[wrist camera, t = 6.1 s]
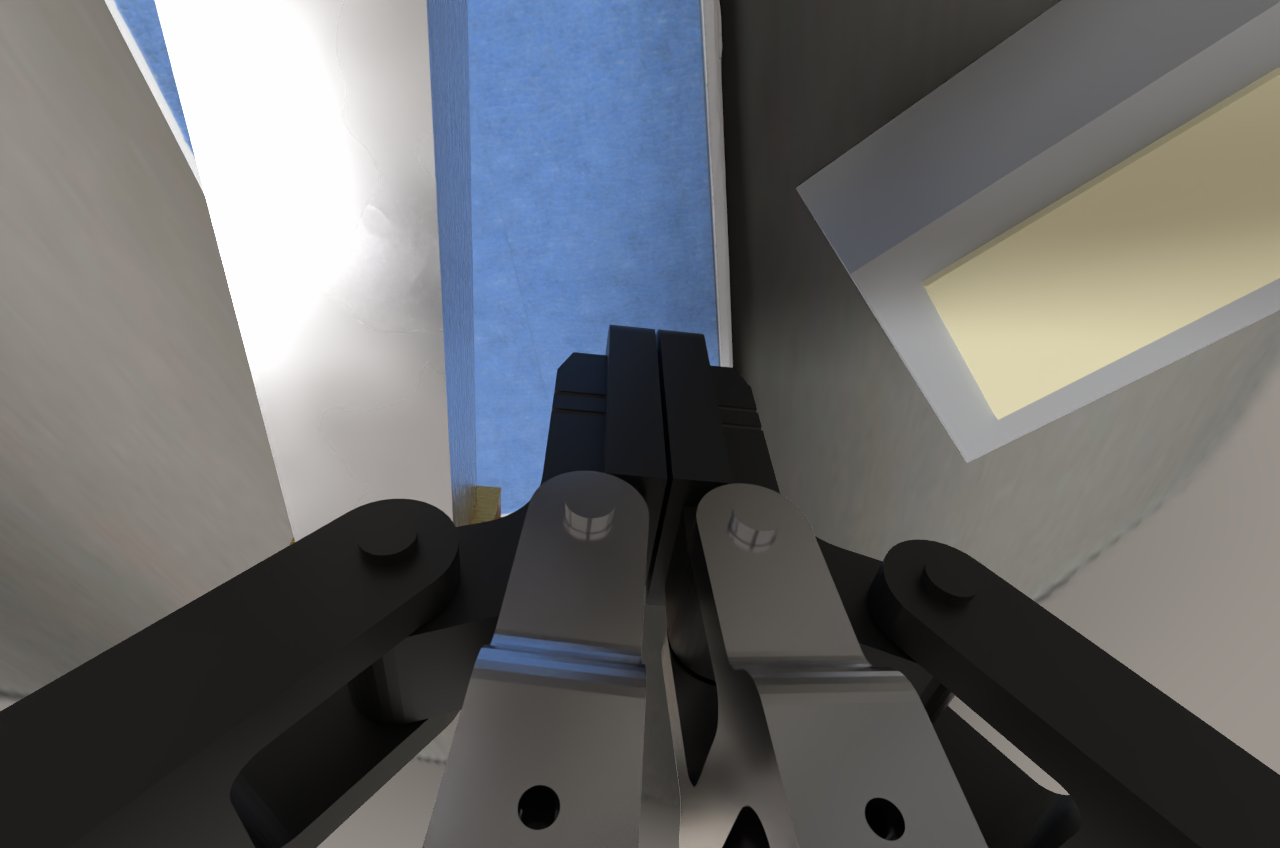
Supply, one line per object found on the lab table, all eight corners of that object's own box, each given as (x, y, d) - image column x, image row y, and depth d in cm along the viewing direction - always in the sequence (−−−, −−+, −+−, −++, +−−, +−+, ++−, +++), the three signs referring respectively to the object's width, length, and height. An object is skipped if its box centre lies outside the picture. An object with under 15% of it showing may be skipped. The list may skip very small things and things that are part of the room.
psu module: (1135, -53, 14) (1357, -40, 10) (1193, 180, 17) (1382, 268, 13) (795, 188, 17) (853, 278, 12) (896, 351, 20) (970, 468, 15)
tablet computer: (6, -253, 12) (-53, -269, 11) (701, -373, 11) (709, -402, 10) (381, 508, 24) (370, 536, 23) (735, 472, 23) (741, 499, 22)
